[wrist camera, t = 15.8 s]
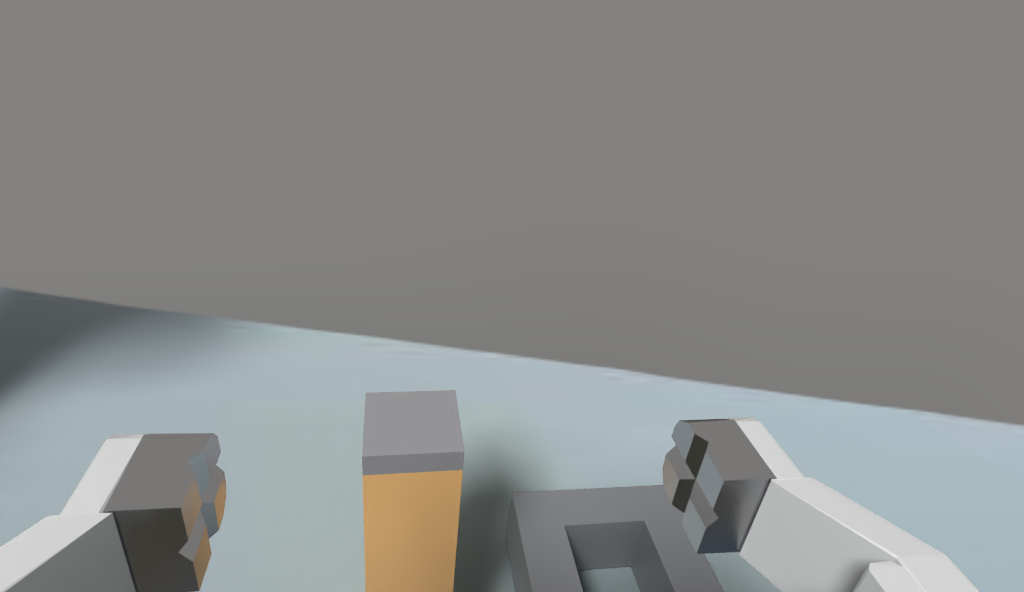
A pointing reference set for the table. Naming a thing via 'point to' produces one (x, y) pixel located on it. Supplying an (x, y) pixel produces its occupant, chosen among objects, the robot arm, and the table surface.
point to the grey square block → (602, 540)
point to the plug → (411, 490)
